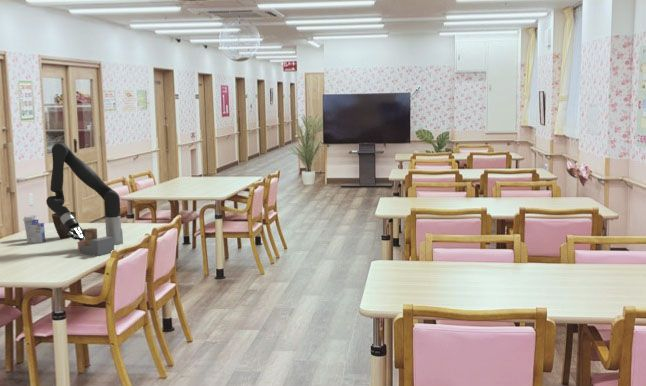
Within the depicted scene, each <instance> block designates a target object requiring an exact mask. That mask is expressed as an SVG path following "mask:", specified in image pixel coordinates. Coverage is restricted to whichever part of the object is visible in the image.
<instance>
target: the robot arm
mask: <svg viewBox="0 0 646 386" xmlns="http://www.w3.org/2000/svg"><path fill="white" fill-rule="evenodd" d="M51 156H52V168H51V169H52V170H51V178H50V188H49V189H50V191H51V192H53V193H55V194H54V195H50V196H48V197H47V198H46V203H45V204H46V206H47V207H48V208H49V209H50V210H51V211H52V212H53V213H54V214H55V213H56V214H57V215H58V217H59V218H60V219H61V221H62V223H63V224H64V226H65V227H66V229H67V230H68V231H69V233H68V236H70V237H71V239H74V241H75V240H76V241H77V240H78V242H79V241H83V240H85V233H84V229H85V228H82V227H81V226H80V223H79V222H78V220H77V219H76V217H75V218H74V216H73V215H72V214H71V213H70V212H71V211H70V210H69V209H68V207H67V206H66V205H65V206H64V204H65V196H64V191H63V187H64V166H65V164H66V165H67V166H68V167H69V168H70V169H71V171H72V172H73V173H74V175H75V176H76V177H77V178H78V179H79V180H80V181H81V182H82V183H84V184H85V185H86V186H87V187H89V188H90V189H92V190H93V191H95V192H96V193H97V194H98V196H100V197H101V198H102V200H103V205H104V218H105V234H106V235H105V237H106V236H107V237H113V239H114V246H115V245H116V246H117V245H120V244H124V236H123V228H122V221H121V219H122V217H121V201H120V200H121V199H120V195H119V193H118V192H117V191H115V190H114V189H112V187H110V186H108V185H107V184H106V183H105V181H103V179H102V178H101V176H99V175H98V174H97V173H96V172H95V171H94V169H92V168H91V167H90V166H89V165H87V164H86V163H85V162H84V161H83V160H81V159H80V158H79V157H78V156H76V154H74V152H73V151H72V150H71V149H70V148H69V147H68V145H66V143H64V142H56V143H54V144H53V146H52V148H51Z"/></svg>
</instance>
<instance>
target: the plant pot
mask: <svg viewBox="0 0 646 386" xmlns="http://www.w3.org/2000/svg"><path fill="white" fill-rule="evenodd" d="M70 213H71V214H72V215H73V216H74V218H75V219H76V215H77V213H76V212H75V211H70ZM51 218H52V222H53V225H54V228H55V231H56V233H57V236H58V237H59V239H62V240H63V239H70V238H71V237H70V236H68V233H69V231H68V230H67V229H66V227H65V226H64V224H63V223H62V221H61V219H60V218H59V217H58V215H57V214H56V213H55V212H54V213H52V214H51ZM71 239H72V238H71Z"/></svg>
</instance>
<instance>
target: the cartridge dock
mask: <svg viewBox="0 0 646 386" xmlns="http://www.w3.org/2000/svg"><path fill="white" fill-rule="evenodd" d="M90 242H91V247H90V246H83V245H82V246H81V252H80V254H81V255H87V256H95V257H101V256H105V255H109V254H112V253H111V251H112V250H114V251H115V245H114V239H113V237H107V236H106V235H105V236H102V237H97V239H93V240H90Z"/></svg>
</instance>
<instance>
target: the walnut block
mask: <svg viewBox="0 0 646 386" xmlns="http://www.w3.org/2000/svg"><path fill="white" fill-rule="evenodd" d="M83 229H84V233H85V237H84V239H85V246H90V247H91V242H90V240H93V239H97V238H98V228H93V227H91V228H83Z"/></svg>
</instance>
